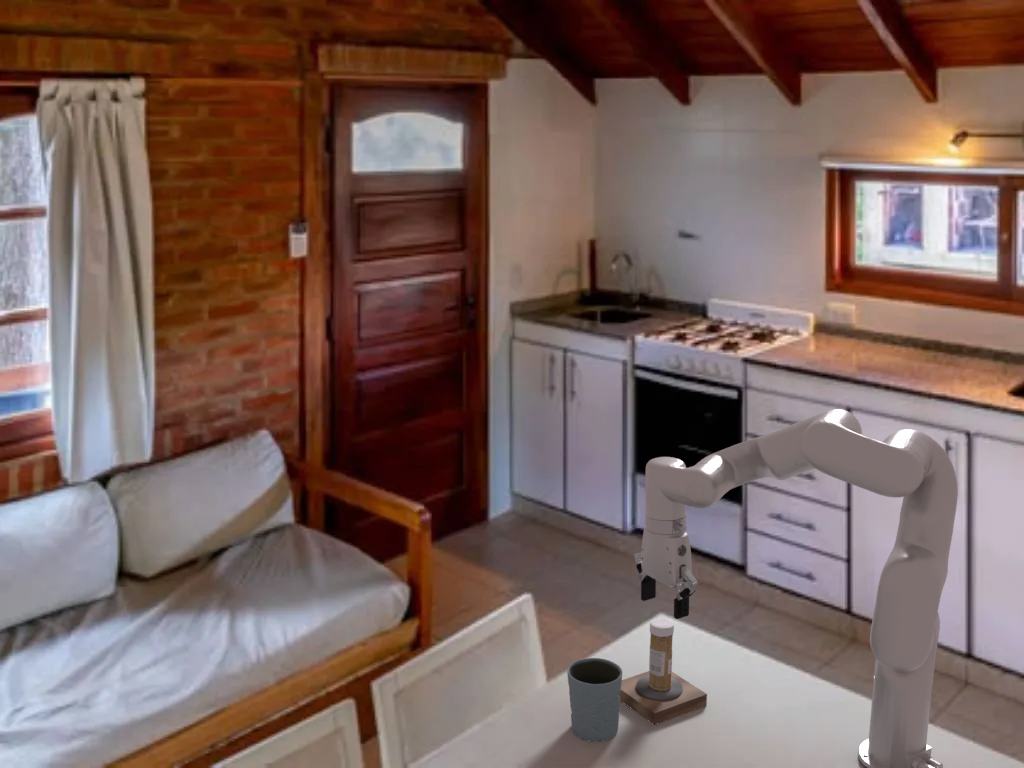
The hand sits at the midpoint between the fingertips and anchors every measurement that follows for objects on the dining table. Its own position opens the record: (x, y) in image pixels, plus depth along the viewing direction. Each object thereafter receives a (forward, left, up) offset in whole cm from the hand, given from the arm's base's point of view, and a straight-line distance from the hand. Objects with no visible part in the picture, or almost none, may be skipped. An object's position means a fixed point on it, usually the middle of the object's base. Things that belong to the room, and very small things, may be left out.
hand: (664, 607), depth 207 cm
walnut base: (0, 0, -20) cm, 20 cm away
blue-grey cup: (-1, +17, -20) cm, 26 cm away
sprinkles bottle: (0, 0, -17) cm, 17 cm away
